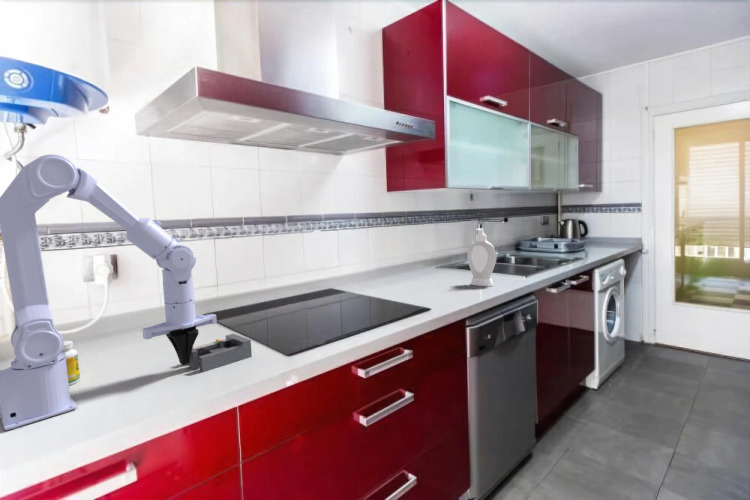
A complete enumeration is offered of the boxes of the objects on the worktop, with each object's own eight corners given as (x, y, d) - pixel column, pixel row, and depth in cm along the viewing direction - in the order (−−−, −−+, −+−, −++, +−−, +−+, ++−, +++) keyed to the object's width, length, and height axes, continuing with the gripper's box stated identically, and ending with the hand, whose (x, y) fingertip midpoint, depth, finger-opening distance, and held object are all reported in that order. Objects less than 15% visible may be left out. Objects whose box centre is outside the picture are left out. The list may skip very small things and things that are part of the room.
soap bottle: (462, 285, 171) (461, 228, 169) (469, 283, 177) (469, 228, 175) (492, 288, 163) (491, 228, 161) (498, 285, 169) (498, 227, 167)
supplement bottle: (49, 384, 81) (44, 344, 81) (77, 376, 85) (73, 338, 84) (53, 390, 78) (48, 348, 77) (82, 382, 82) (78, 342, 81)
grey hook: (195, 370, 86) (194, 352, 85) (183, 363, 90) (182, 346, 90) (232, 358, 92) (231, 342, 91) (220, 353, 96) (218, 337, 96)
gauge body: (202, 372, 85) (201, 353, 84) (186, 363, 90) (185, 346, 90) (251, 356, 93) (250, 339, 93) (234, 349, 99) (233, 333, 98)
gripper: (148, 310, 77) (155, 378, 78) (221, 297, 87) (225, 357, 89) (136, 305, 81) (142, 370, 83) (206, 293, 92) (211, 350, 93)
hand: (184, 363), depth 86 cm, fingers closed
